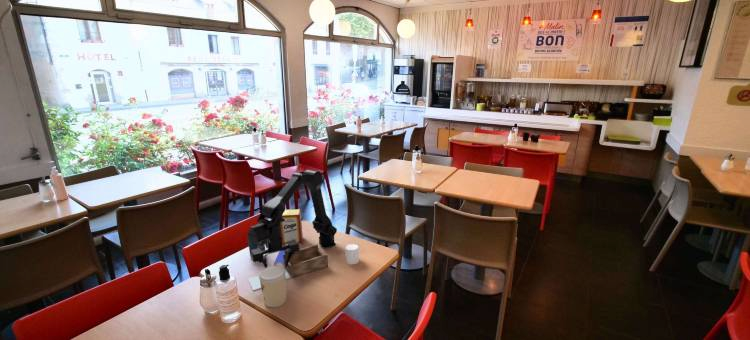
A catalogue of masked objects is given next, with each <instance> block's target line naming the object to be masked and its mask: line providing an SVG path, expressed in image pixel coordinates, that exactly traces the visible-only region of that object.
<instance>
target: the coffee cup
mask: <svg viewBox="0 0 750 340" xmlns="http://www.w3.org/2000/svg"><path fill="white" fill-rule="evenodd" d="M283 267H284V266H283ZM283 267H281V266H276V265H271V266H268V267H267V268H265V267H264V268H263V269H262V270H261V271H260V272H259V274H258V276H259V280H260V284H261V289H260V290H261V292H262V297H263V301H264V305H266V307H270V308H276V307H279V306H282V305H283V304H284V303H285V301H287V289H286V288H287V284H286V282H287V280H285V270H286V269H285V267H284V268H283ZM284 269H285V270H284Z"/></svg>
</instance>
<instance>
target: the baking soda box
mask: <svg viewBox="0 0 750 340" xmlns="http://www.w3.org/2000/svg"><path fill="white" fill-rule="evenodd" d="M281 217H282V218H283V219H285V221H283V222H281V236H282V246H284V245H285V244H286V242H287V241H291V240H295V241H296V242H297V243H298V244H299V245H301V244H302V245H303V239H304V236H303V234H304V233H303V225H302V224H303V223H302V214H301V209H300V208H297V209H285V211H284V213H283V215H282V216H281Z"/></svg>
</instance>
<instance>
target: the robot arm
mask: <svg viewBox="0 0 750 340" xmlns="http://www.w3.org/2000/svg"><path fill="white" fill-rule="evenodd" d="M323 178H324V177H323V173H322V172H321V171H319V170H315V169H306V170H305V171H295V172H293V173H292V175H291V177H290V179H288V181H286V183H285V185H284V186H283V187H282V189H280V191H279V192H278V194H276V195H275V197H273V198H271V199H270V200H268V201H267V202H266V203H265V204H264V205H263V206H262V208H261V211H260V213H259V215H258V219H257V220H256V222H257V224H255V225H251V226H250V229H249V230H248V231H247V236H248V237H247V240H248V239H249V241H250V242H251V243H252V244H257V243H259V242H260V244H265V250H263V251H261V249H260V248H258V249H254V250H251V251H250V252H249V256H250V259H251V260H252V262H253V263H256V262H258V264H259V263H262V265H263V267H264V269H265V268H267V267H269V266H268V261H267V258H266V256H267V255H270V254H275V253H279V251H283V250H284V252H285V267H287V265H288V262H289V260H290V258H291V256H292V255H293V254H294V253H295V252H296V251H299V250H300V249H301V248H300V244H298V243H297V242H296V241H295V240H291V241H287V242H286V244H285V245H282V236H281V222H283V221H285V219H283V218H282V217H281V216H282V215H283V213H284V211H285V210H286V205H287V203H288V202H289V201H290V200H291V198H292V197H293V196H294V194H295V193H296V191H297V190H298V189H299V187H301V185H302V184H303V183H304V185H305V186H306V188H307V189H308V190H309V191H310V192H309V193H310V196H311V201H312V205H313V210H314V211H313V212H314V215H315V217H314V220H312V221H311V222H312V227H313V228H312V229H314V231H316V233H317V234H318V235H319V237H318V244H319V246H321V247H322V248H323V249H325V250H326V249H328V248H331V247H335V246H337V243H336V242H335V235H336V234H337V230H338V228H337V227H335V226H334V225H333V222H332V220H331V218H330V217H329V216H328V215H327V211H326V207H325V202H324V198H323V192H322V186H323V183H324V179H323ZM285 267H284V268H285Z"/></svg>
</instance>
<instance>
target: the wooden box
mask: <svg viewBox="0 0 750 340" xmlns="http://www.w3.org/2000/svg"><path fill="white" fill-rule="evenodd" d="M318 244H319V243H318ZM318 244H317V243H316V244H314V245H310V246H306V247H303V248H300V250H299V251H296V252H295V253H294V254H293V255H292V256H291V258H290V260H289V262H288V265H287V267H285V254H283V261H284V265H283V267H284V269H285V270H286V272H287V273H288V275H289V276H290V277H291V279H292V280H294V279H298V278H301V277H304V276H306V275H308V274H313V273H315V272H318V271H322V270H323V269H326V268H327V269H328V268H329V256H328V255H329V254H328V253H324V252H323V251H322V250H321V249H320V248H319V245H318Z"/></svg>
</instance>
